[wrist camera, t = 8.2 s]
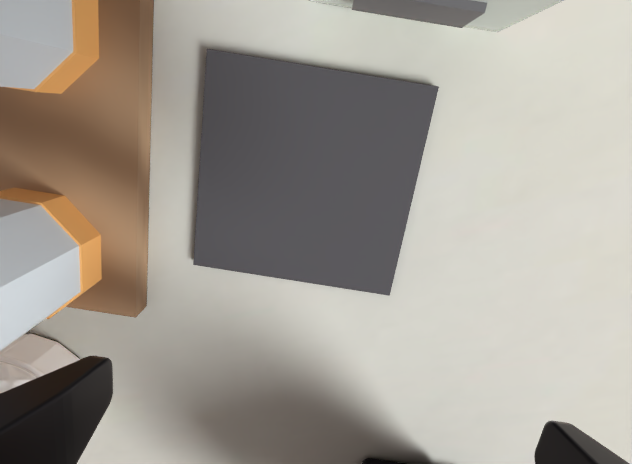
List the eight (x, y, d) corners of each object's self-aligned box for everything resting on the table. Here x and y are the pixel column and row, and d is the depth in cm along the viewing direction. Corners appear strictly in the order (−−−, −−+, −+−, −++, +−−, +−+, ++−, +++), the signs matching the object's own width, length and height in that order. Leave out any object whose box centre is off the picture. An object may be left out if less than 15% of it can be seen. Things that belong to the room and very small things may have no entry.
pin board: (146, 306, 21) (80, 375, 15) (-22, 279, 20) (-150, 340, 15) (154, -39, 16) (61, -119, 10) (-65, -76, 16) (-276, -176, 10)
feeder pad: (388, 291, 20) (389, 295, 19) (195, 261, 20) (193, 264, 19) (436, 87, 17) (438, 86, 16) (209, 50, 17) (206, 48, 16)
